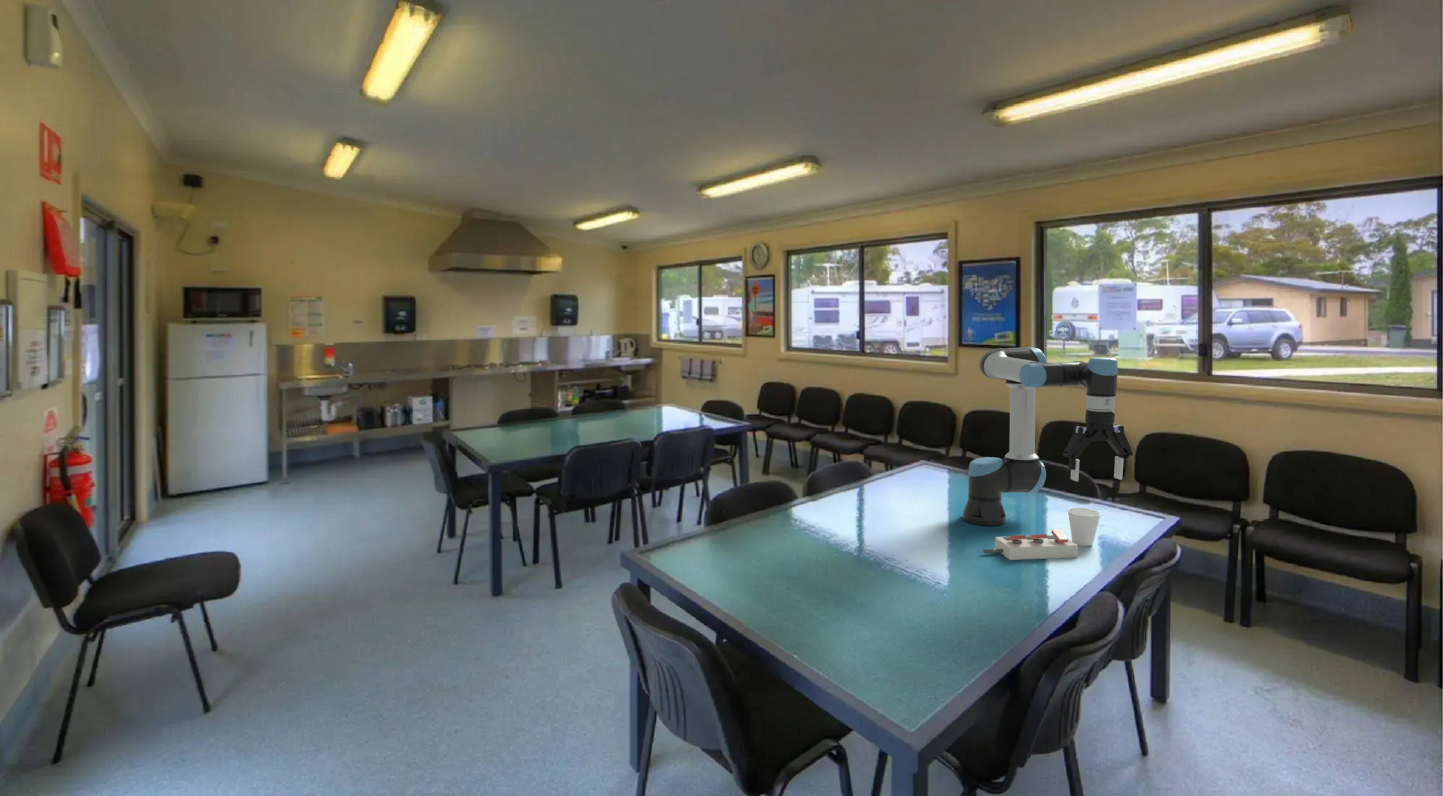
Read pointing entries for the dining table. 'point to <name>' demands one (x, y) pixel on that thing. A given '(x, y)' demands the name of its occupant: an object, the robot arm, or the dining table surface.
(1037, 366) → the robot arm
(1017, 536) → the rocker
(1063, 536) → the rocker
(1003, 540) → the strip
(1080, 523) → the cup
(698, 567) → the dining table surface
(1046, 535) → the rocker
